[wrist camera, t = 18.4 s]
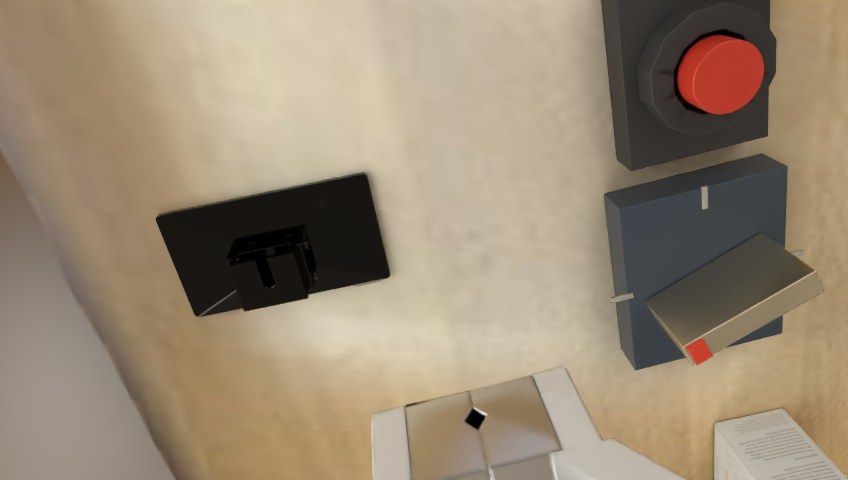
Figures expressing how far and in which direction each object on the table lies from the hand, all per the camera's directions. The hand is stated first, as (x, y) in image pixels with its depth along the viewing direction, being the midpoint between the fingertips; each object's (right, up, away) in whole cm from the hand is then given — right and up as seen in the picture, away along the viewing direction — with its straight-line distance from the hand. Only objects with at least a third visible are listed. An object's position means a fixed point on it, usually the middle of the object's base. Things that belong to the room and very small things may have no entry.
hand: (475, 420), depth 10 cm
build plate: (-10, +3, +28) cm, 30 cm away
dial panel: (+16, +2, +31) cm, 35 cm away
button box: (+13, +13, +25) cm, 32 cm away
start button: (+14, +11, +22) cm, 29 cm away
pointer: (+17, +1, +29) cm, 33 cm away
